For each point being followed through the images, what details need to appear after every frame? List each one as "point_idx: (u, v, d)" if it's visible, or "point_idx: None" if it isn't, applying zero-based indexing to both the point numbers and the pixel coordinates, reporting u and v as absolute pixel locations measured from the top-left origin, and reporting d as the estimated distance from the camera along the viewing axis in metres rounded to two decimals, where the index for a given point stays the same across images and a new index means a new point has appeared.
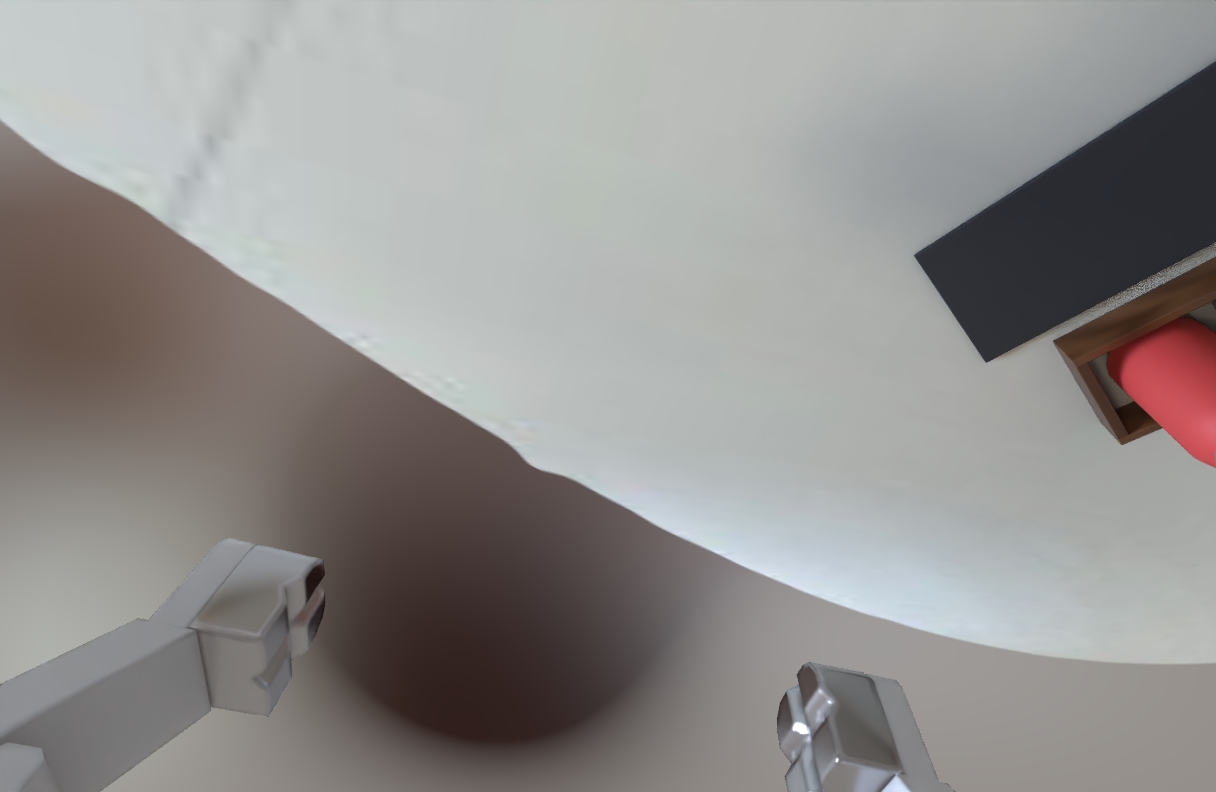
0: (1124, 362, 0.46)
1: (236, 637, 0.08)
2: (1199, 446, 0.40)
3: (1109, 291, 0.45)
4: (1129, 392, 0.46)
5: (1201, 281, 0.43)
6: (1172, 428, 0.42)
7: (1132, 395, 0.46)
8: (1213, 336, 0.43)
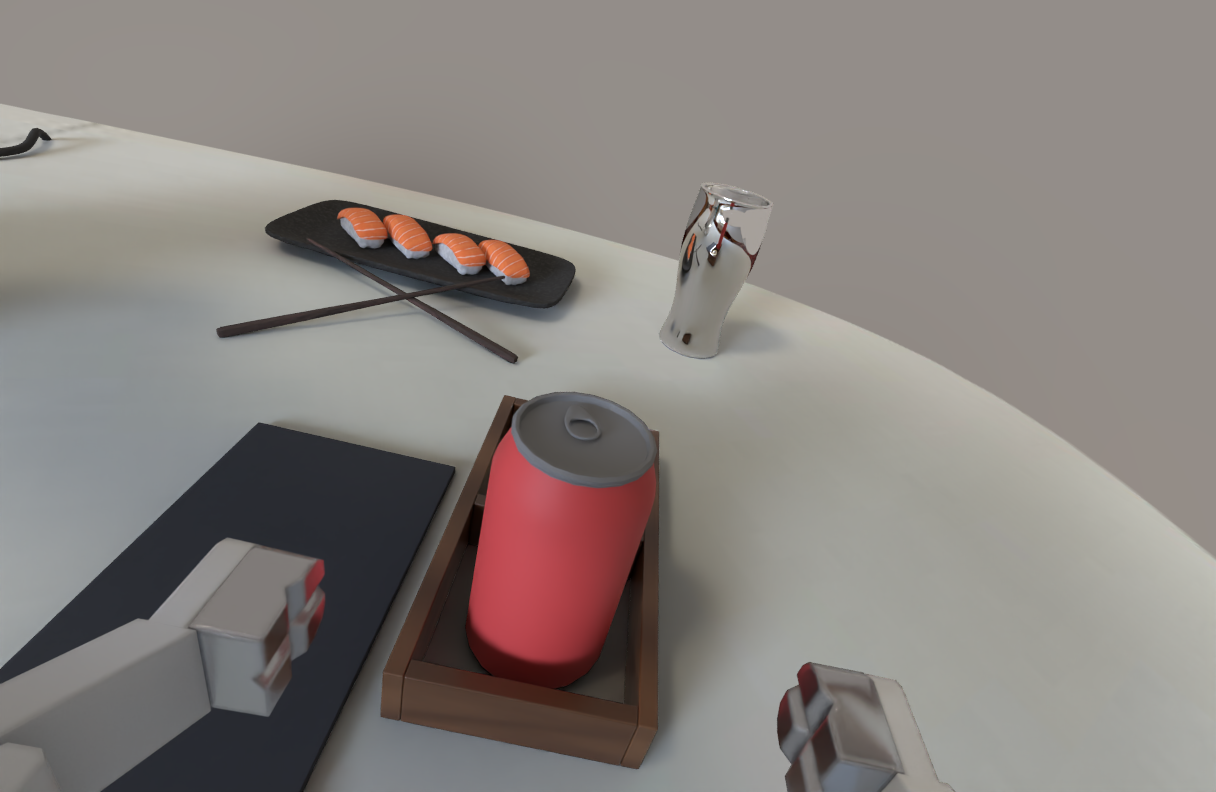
0: (481, 634, 0.25)
1: (236, 637, 0.08)
2: (540, 499, 0.21)
3: (375, 607, 0.28)
4: (525, 644, 0.24)
5: None
6: (532, 551, 0.22)
7: (527, 639, 0.24)
8: None
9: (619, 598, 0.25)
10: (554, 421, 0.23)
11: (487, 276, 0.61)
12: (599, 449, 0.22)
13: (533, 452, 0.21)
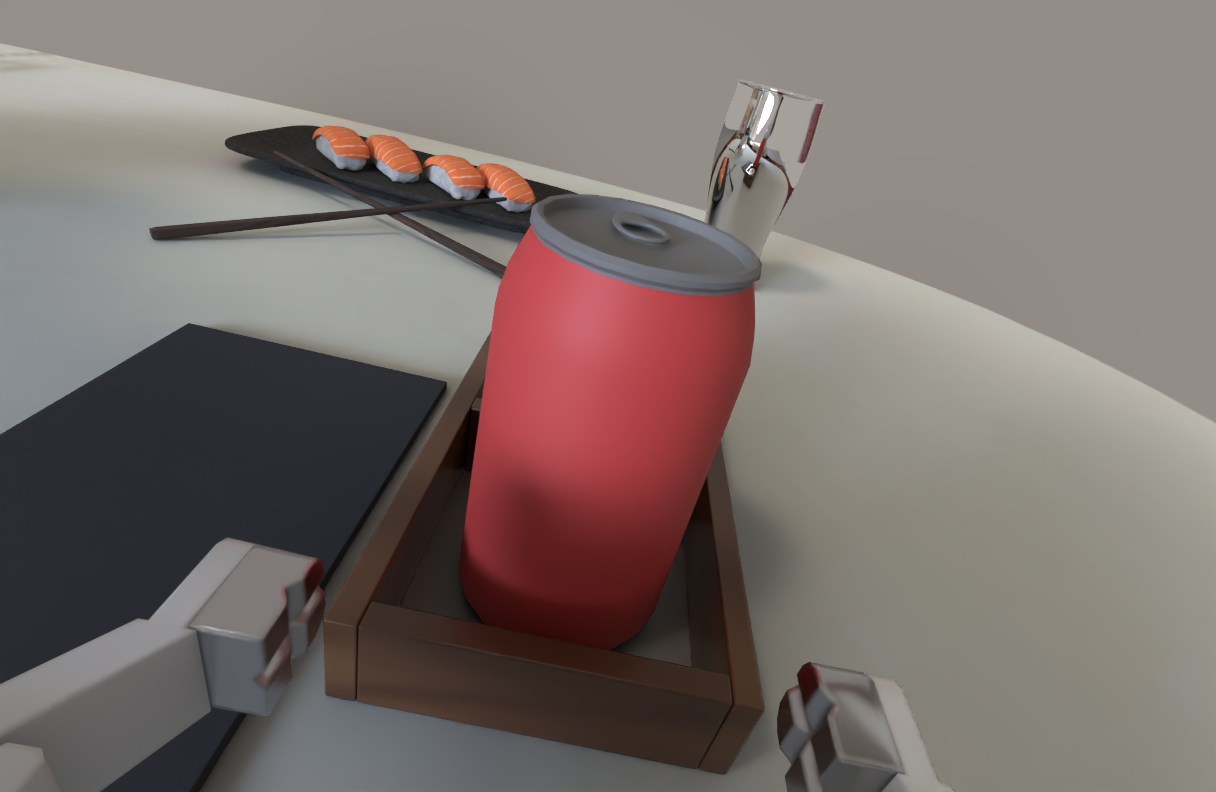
0: (482, 571, 0.17)
1: (236, 637, 0.08)
2: (582, 315, 0.12)
3: (327, 541, 0.19)
4: (550, 581, 0.16)
5: None
6: (566, 413, 0.13)
7: (553, 572, 0.15)
8: None
9: (690, 515, 0.17)
10: (596, 224, 0.15)
11: (486, 203, 0.53)
12: (671, 256, 0.14)
13: (569, 237, 0.12)
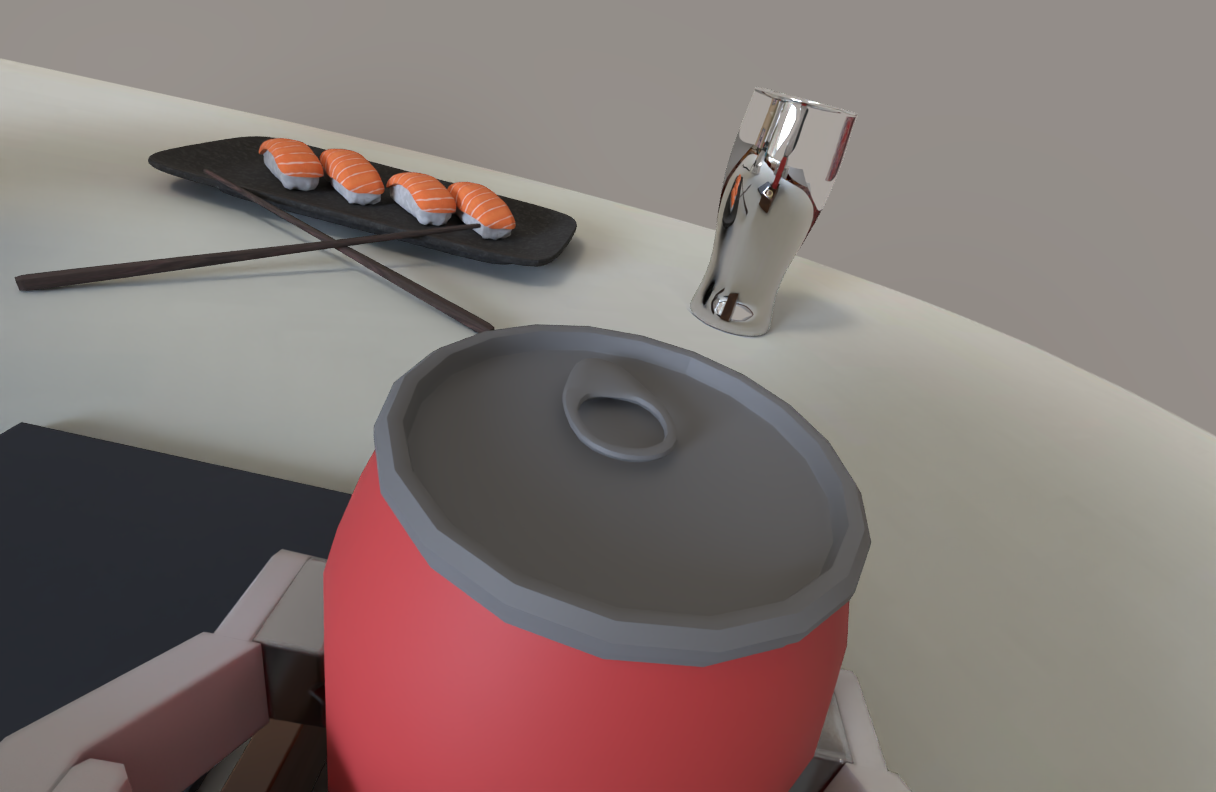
0: None
1: (300, 650, 0.08)
2: (466, 712, 0.05)
3: None
4: None
5: None
6: None
7: None
8: None
9: None
10: (532, 401, 0.08)
11: None
12: (678, 492, 0.07)
13: (436, 517, 0.05)
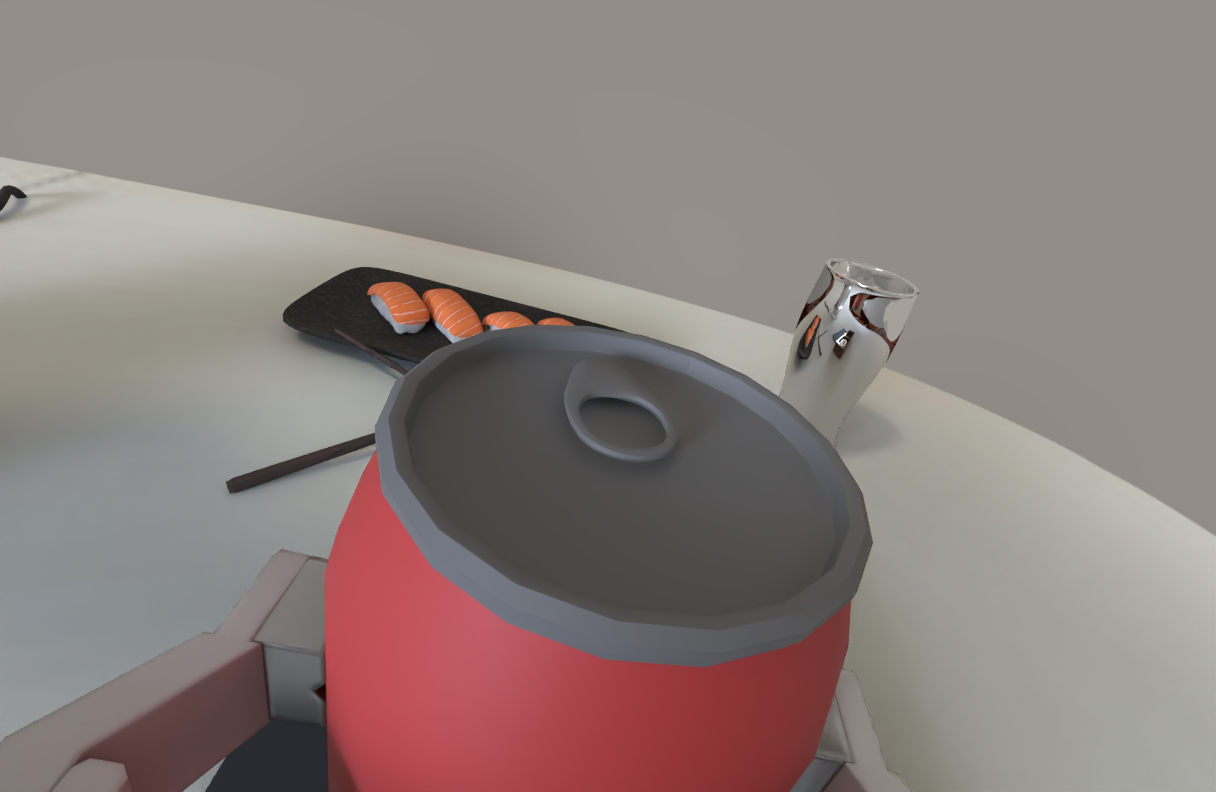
0: None
1: (300, 650, 0.08)
2: (468, 712, 0.05)
3: None
4: None
5: None
6: None
7: None
8: None
9: None
10: (534, 402, 0.08)
11: None
12: (680, 493, 0.07)
13: (438, 517, 0.05)
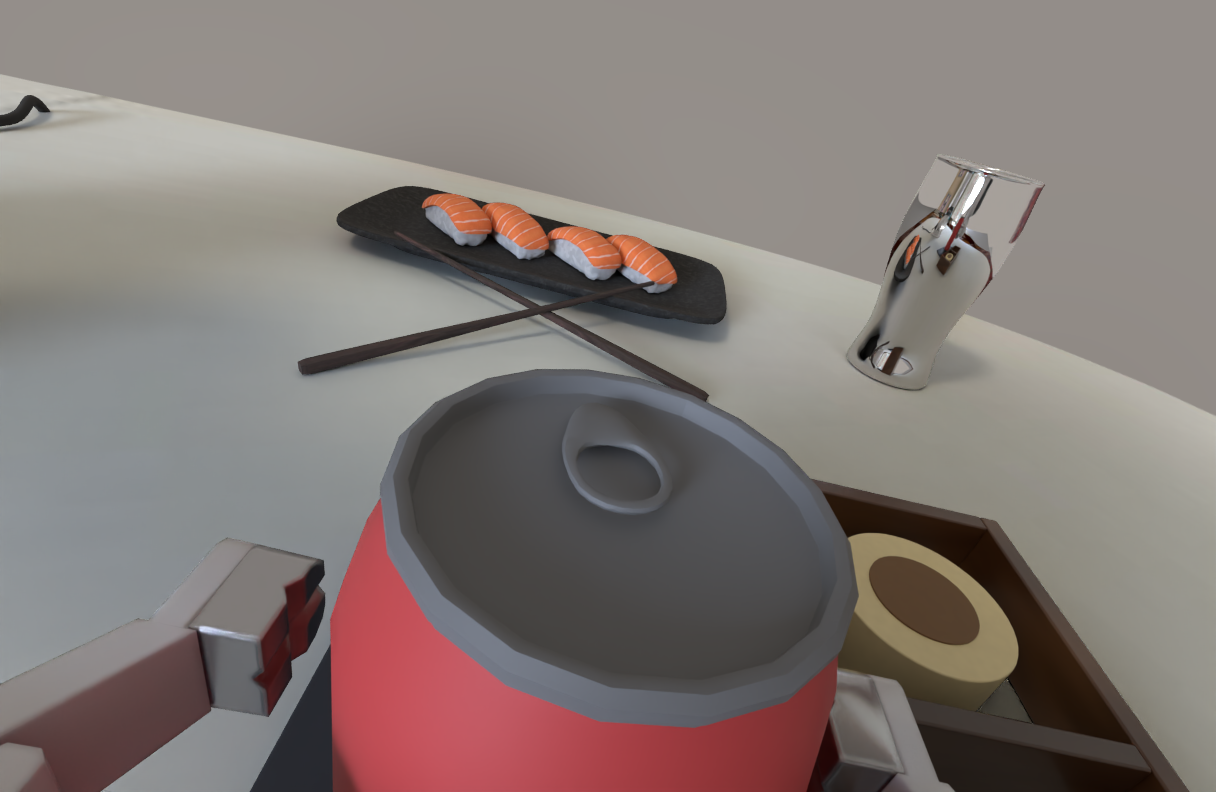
0: None
1: (236, 637, 0.08)
2: (469, 768, 0.05)
3: None
4: None
5: None
6: None
7: None
8: None
9: None
10: (533, 450, 0.08)
11: (621, 282, 0.47)
12: (673, 544, 0.07)
13: (441, 582, 0.05)
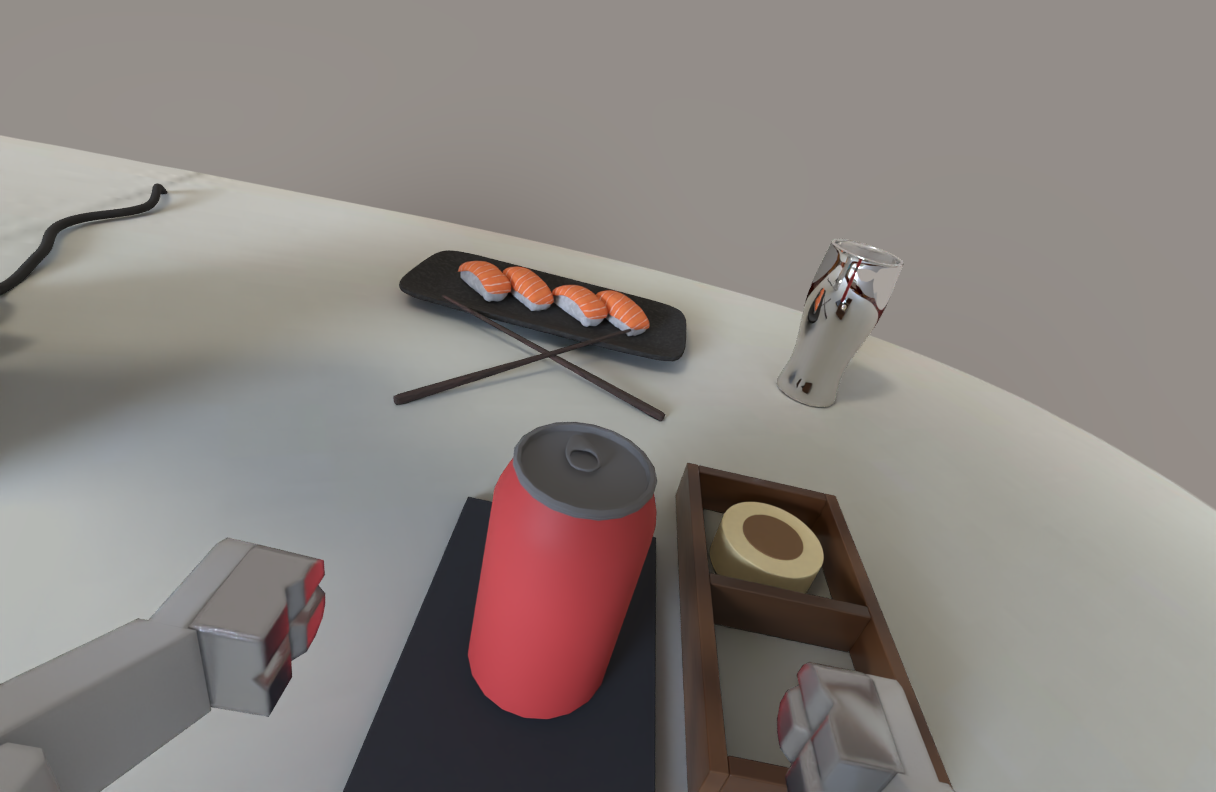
0: (484, 663, 0.26)
1: (236, 637, 0.08)
2: (542, 532, 0.21)
3: (644, 692, 0.29)
4: (527, 674, 0.24)
5: (689, 607, 0.32)
6: (534, 582, 0.22)
7: (529, 668, 0.24)
8: None
9: (621, 626, 0.26)
10: (555, 452, 0.24)
11: (607, 327, 0.62)
12: (599, 480, 0.23)
13: (535, 485, 0.21)
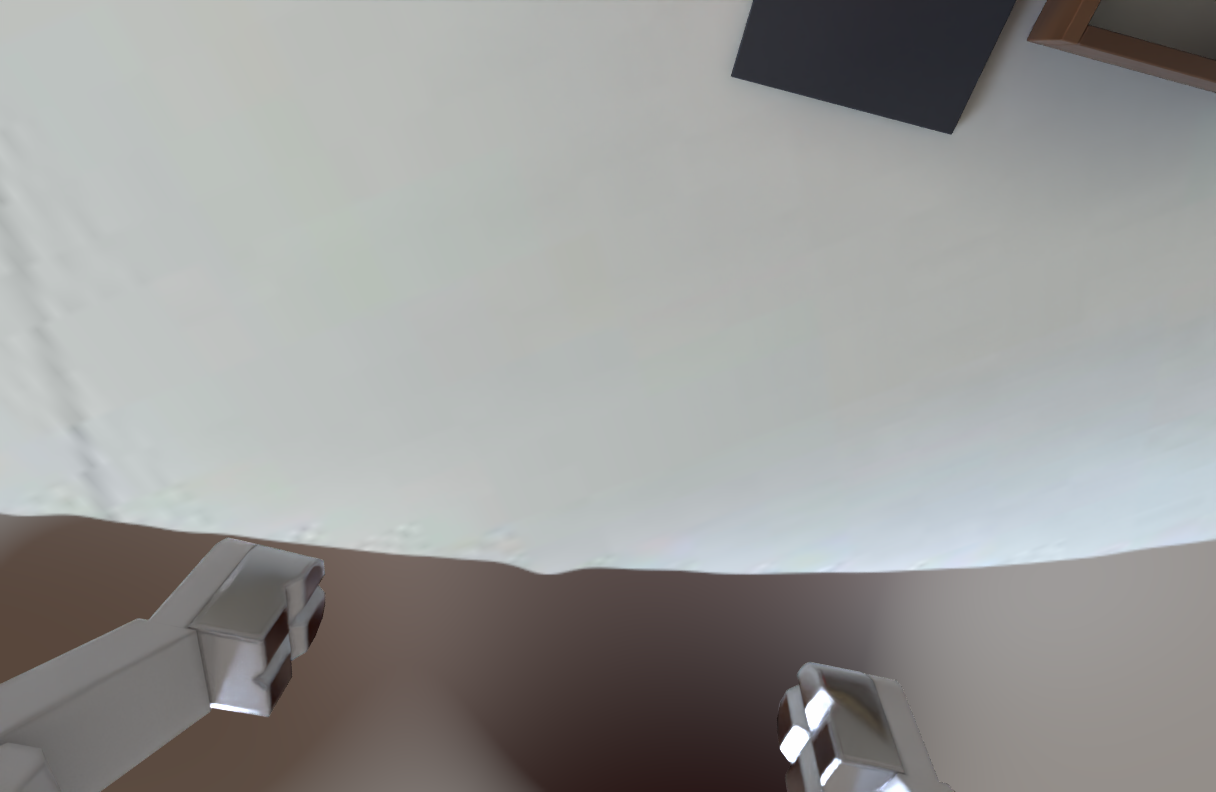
0: None
1: (236, 637, 0.08)
2: None
3: None
4: None
5: None
6: None
7: None
8: None
9: None
10: None
11: None
12: None
13: None
